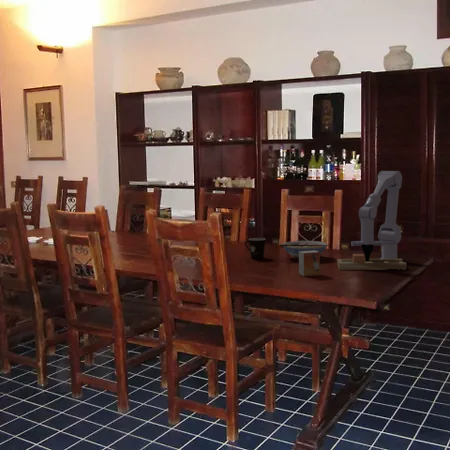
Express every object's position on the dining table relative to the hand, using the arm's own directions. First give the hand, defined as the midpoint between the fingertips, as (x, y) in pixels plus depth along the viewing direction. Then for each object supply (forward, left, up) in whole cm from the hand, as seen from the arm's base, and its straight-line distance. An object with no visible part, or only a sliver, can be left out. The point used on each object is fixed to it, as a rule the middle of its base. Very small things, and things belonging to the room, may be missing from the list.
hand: (367, 261), depth 285 cm
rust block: (0, -4, -1) cm, 4 cm away
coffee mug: (-27, -53, -3) cm, 60 cm away
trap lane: (0, +2, -3) cm, 3 cm away
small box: (+16, -27, -3) cm, 32 cm away
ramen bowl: (-25, -28, -3) cm, 38 cm away
